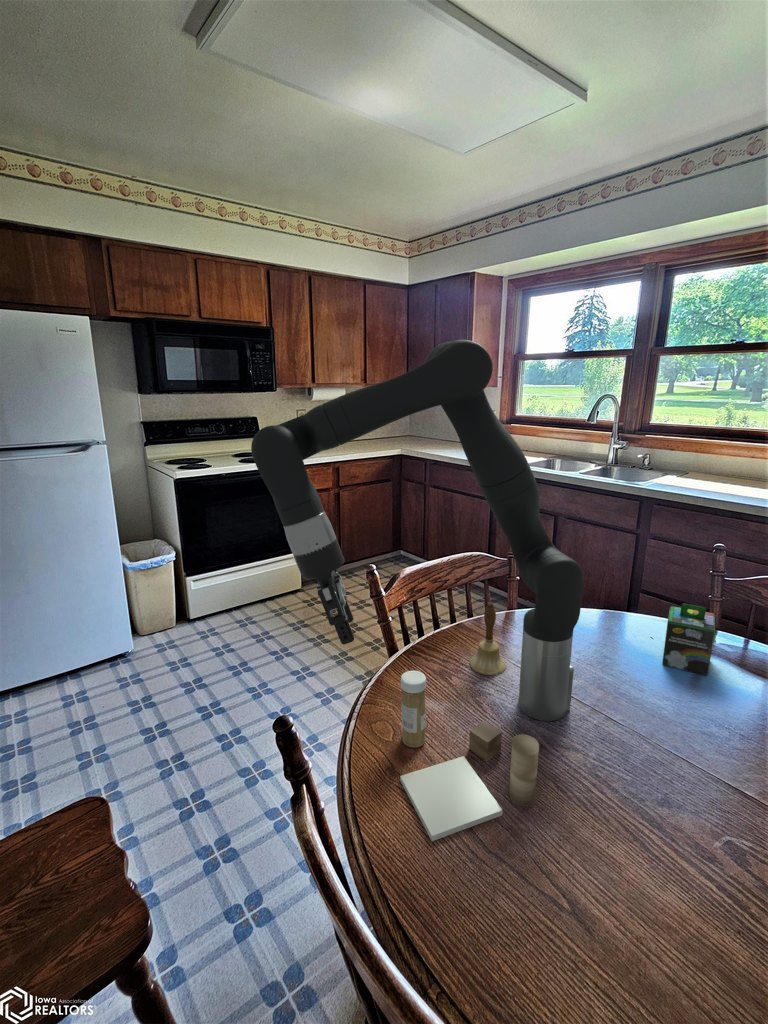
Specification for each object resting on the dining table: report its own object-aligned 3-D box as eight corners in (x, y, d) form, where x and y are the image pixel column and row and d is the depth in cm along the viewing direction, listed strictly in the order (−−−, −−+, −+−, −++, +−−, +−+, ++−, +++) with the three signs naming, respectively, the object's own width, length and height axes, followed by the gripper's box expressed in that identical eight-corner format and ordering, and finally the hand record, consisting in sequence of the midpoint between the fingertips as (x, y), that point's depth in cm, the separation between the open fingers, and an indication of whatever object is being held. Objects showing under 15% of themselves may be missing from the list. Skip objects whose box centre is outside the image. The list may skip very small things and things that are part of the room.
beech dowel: (524, 782, 82) (528, 731, 79) (540, 801, 78) (544, 748, 76) (504, 789, 81) (507, 738, 78) (518, 809, 77) (522, 755, 74)
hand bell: (511, 673, 112) (515, 609, 108) (476, 677, 111) (478, 612, 107) (498, 653, 120) (501, 593, 116) (465, 657, 119) (466, 596, 114)
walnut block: (483, 738, 92) (484, 720, 91) (500, 750, 89) (501, 731, 88) (469, 749, 90) (469, 730, 89) (487, 761, 87) (487, 742, 86)
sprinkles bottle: (430, 742, 92) (431, 678, 88) (411, 752, 89) (410, 687, 86) (416, 728, 95) (415, 666, 92) (396, 737, 93) (395, 674, 89)
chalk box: (708, 657, 117) (718, 600, 113) (708, 677, 109) (719, 616, 105) (663, 647, 121) (672, 591, 118) (660, 665, 114) (669, 606, 110)
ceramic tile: (463, 760, 87) (463, 756, 87) (502, 815, 76) (502, 810, 76) (400, 780, 83) (400, 775, 83) (431, 841, 72) (431, 835, 72)
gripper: (334, 546, 74) (371, 641, 77) (336, 527, 88) (367, 609, 91) (287, 563, 74) (325, 658, 77) (296, 542, 88) (328, 623, 91)
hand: (348, 631), depth 84 cm, fingers open, 8 cm apart
